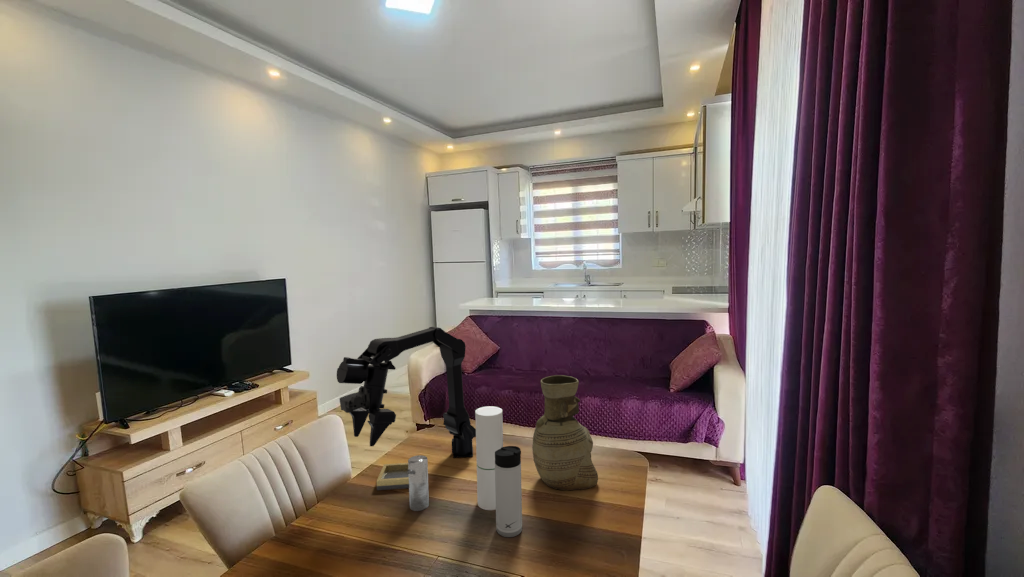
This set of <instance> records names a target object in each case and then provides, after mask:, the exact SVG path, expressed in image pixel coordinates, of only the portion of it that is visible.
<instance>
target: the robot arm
mask: <svg viewBox="0 0 1024 577" xmlns="http://www.w3.org/2000/svg"><path fill="white" fill-rule="evenodd" d="M429 343H433V344H434V345H435V346H437V347H438V348H439V351H440V355H441V358H442V360H443V362H444V363H445V368H446V380H447V383H446V384H447V395H448V396H447V397H448V408H447V411H446V412H443V414H442V418H443V424H442V425H444V427H445V429H446V430H447V431H448V433H449V434H450V435H452V437H453V438H451V454H453V455H452V456H453V458H454V459H455V458H456V459H457V458H471V457H473V456H474V447H473V440H474V438H476V427H474V426H473V425H472V424H471V419H470V414H469V413H468V411H467V410H466V407H465V403H464V402H465V400H464V388H463V373H462V372H463V370H462V364H463V362H464V359H465V358H466V342H465V341H463V339H461V338H457V337H456V336H454V335H451V334H450V333H448V332H447V331H445V330H444V329H442V328H441V327H438V326H429V327H428V328H424V329H422V330H418V331H415V332H412V333H408V334H404V335H401V336H397V337H396V336H395V337H384V338H383V337H382V338H381V337H380V338H374V339H372V340H371V341H370V342H369V344H368V346H367V348H365V349H364V351H363V352H362V353H361V354H360V355H359V356H358V357H357V358H353V357H348V356H345V357H343V360H342V362H340V364H339V366H338V368H337V369H336V380H337V382H338V384H348V385H349V384H351V385H353V384H354V385H355V384H356V385H360V387H359V388H358V391H357V392H354V393H350V394H347V395H346V394H345V395H343V396H342V397H340V398H339V403H340V404H339V405H340V410H341V411H344V412H345V413H347V414H349V415H350V416H351V418H352V419H351V420H352V427H353V436H354V438H358V437H359V436H360V434H361V431H362V429H363V427H364V425H365V423H366V421H367V424H369V426H370V433H369V435H370V436H369V447H374V446H375V445H376V444H377V442H378V440H379V439H380V438H381V436H382V435H383V434H384V432H385V431H386V429H387V428H388V427H389V426H391V425H392V424H393V423H396V418H397V414H396V413H395V411H393V410H391V409H389V408H385V404H384V403H383V399H384V394H387V393H388V389H386V383H387V378H388V373H389V370H391V371H392V370H394V371H395V370H396V366H395V364H393V362H392V360H393V359H396V358H397V357H399V355H401V354H402V353H403V352H405V351H407V350H410V349H414V348H417V347H421V346H423V345H426V344H429ZM361 384H363V385H361ZM367 419H368V420H367Z"/></svg>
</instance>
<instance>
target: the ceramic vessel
mask: <svg viewBox="0 0 1024 577" xmlns="http://www.w3.org/2000/svg"><path fill="white" fill-rule="evenodd" d="M579 382H580V381H579V379H577V377H573V376H569V375H561V374H560V375H557V374H555V375H550V376H545V377H543V378H542V379H540V386H541V387H540V388H541V391H542V392H541V393H542V394H543V397H544V413H543V415H541V417H539V419H538V420H537V421H536V423H535V428H534V431H533V435H532V436H533V437H532V444H531V445H532V450H531V451H532V457H533V461H534V465H535V469H536V472H537V473H538V475H539V477H540V478H541V480H542V481H543V483H544V484H545V485H546V486H547V487H549V488H552V489H555V490H559V491H561V490H562V491H576V490H586V489H590V488H592V487H594V486H596V485H597V484H598V482H599V474H598V472H597V469H596V466H595V464H594V463H593V460H592V451H593V449H594V441H593V438H592V436H591V433H590V430H589V429H588V428H587V427H585V426H584V425H582V424H581V423H580V422H579V421H578V420H577V419H576V418H575V417H574V416H576V415H579V413H580V410H579V409H580V408H579V407H580V405H579V402H581V399H580V398H578V397H577V396H576V394H577V391H578V388H579V385H580V384H579Z"/></svg>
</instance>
